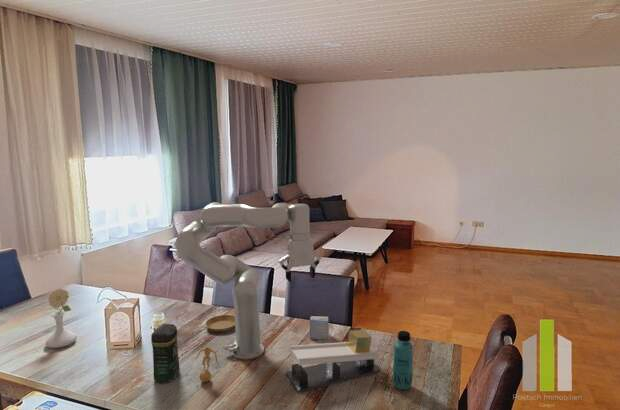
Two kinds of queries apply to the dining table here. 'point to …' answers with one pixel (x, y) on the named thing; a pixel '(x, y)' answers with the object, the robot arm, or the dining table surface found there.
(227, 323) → the plant saucer
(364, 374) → the seesaw stand
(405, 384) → the beverage bottle
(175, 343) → the coffee jar
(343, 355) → the beam
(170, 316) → the dining table surface
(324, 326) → the medicine box
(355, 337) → the block
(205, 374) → the figurine
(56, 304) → the flower in vase
